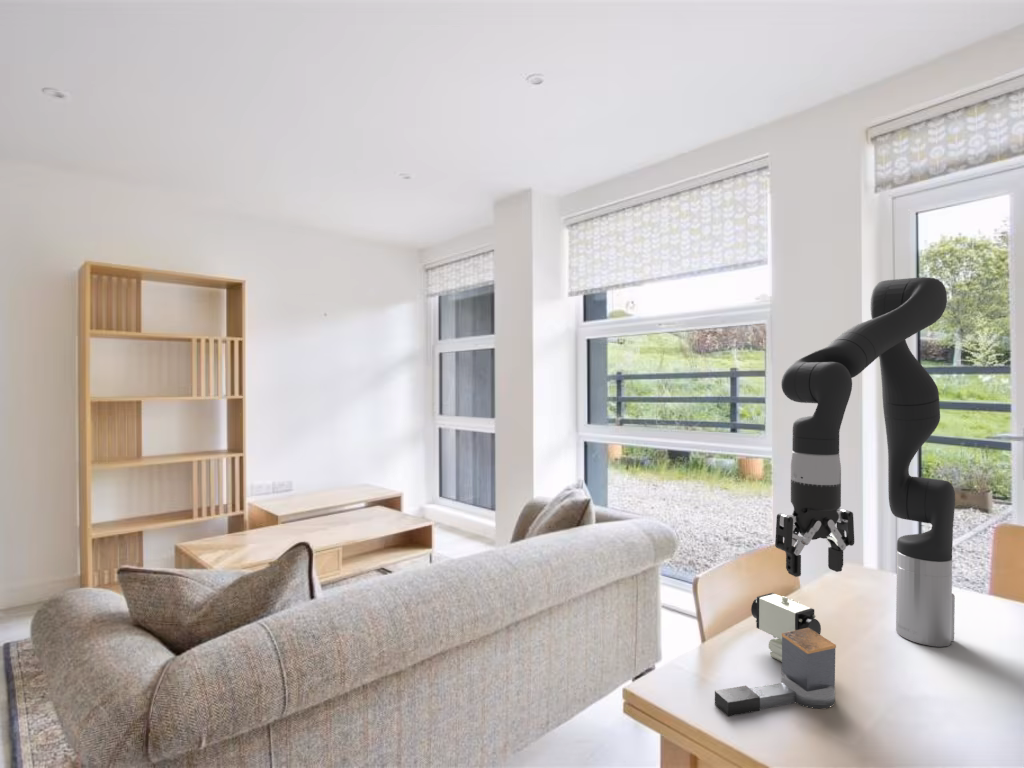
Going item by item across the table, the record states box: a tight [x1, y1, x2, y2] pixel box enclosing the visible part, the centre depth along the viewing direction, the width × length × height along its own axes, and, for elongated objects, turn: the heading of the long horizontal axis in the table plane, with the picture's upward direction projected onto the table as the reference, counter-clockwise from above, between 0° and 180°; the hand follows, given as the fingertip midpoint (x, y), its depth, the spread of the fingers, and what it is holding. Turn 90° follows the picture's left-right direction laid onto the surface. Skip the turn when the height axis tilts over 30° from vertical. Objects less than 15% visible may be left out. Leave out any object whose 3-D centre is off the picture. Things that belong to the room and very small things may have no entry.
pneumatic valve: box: [750, 592, 822, 663], centre depth 104 cm, size 6×12×12 cm, turn 27°
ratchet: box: [714, 671, 836, 717], centre depth 91 cm, size 21×8×6 cm, turn 105°
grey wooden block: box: [781, 628, 837, 692], centre depth 92 cm, size 6×6×7 cm
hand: (814, 572), depth 93 cm, fingers open, 8 cm apart
